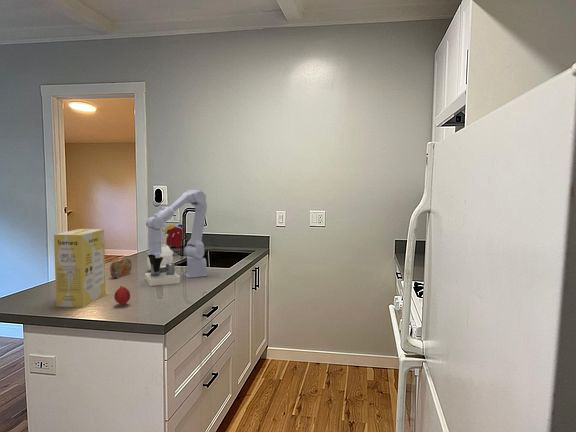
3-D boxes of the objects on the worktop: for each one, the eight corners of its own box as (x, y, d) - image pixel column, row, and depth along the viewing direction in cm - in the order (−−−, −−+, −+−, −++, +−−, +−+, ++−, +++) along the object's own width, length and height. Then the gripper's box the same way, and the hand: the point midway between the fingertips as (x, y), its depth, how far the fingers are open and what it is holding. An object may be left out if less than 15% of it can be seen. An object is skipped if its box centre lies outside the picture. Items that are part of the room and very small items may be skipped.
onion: (117, 303, 165) (116, 283, 165) (132, 303, 166) (131, 283, 165) (112, 307, 160) (112, 287, 159) (127, 307, 160) (127, 287, 159)
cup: (176, 268, 229) (176, 244, 228) (167, 274, 216) (167, 248, 215) (153, 267, 230) (153, 243, 229) (142, 273, 217) (142, 247, 216)
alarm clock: (183, 245, 306) (183, 218, 304) (189, 247, 299) (188, 219, 298) (164, 247, 296) (164, 219, 295) (169, 249, 290) (169, 221, 288)
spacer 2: (173, 272, 204) (173, 262, 203) (175, 274, 200) (175, 264, 199) (165, 273, 202) (165, 263, 201) (166, 275, 198) (166, 265, 198)
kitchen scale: (173, 276, 211) (173, 264, 211) (180, 283, 198) (179, 269, 198) (144, 279, 205) (144, 266, 204) (149, 286, 192) (149, 272, 191)
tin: (114, 279, 203) (114, 262, 202) (109, 279, 204) (108, 262, 203) (132, 273, 218) (131, 257, 217) (126, 272, 218) (126, 256, 218)
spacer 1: (158, 274, 200) (158, 263, 200) (160, 275, 197) (160, 265, 196) (150, 274, 198) (149, 264, 198) (151, 276, 195) (151, 266, 195)
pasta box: (81, 293, 178) (79, 228, 176) (105, 294, 178) (104, 229, 175) (56, 306, 160) (53, 234, 157) (83, 307, 160) (81, 235, 157)
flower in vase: (155, 254, 269) (154, 216, 267) (173, 254, 273) (173, 216, 271) (155, 258, 257) (154, 218, 255) (174, 257, 260) (173, 218, 258)
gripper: (143, 240, 201) (144, 268, 202) (148, 244, 188) (148, 274, 189) (158, 239, 204) (159, 266, 205) (164, 243, 191) (164, 272, 192)
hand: (155, 270), depth 198 cm, fingers open, 6 cm apart
